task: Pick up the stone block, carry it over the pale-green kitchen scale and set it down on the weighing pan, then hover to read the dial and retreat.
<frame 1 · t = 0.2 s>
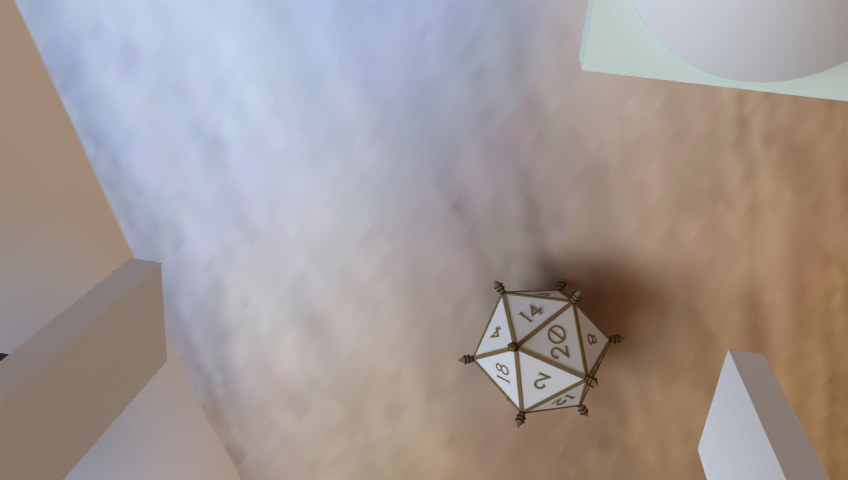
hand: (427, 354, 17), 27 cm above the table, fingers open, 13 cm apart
game die: (541, 315, 47), on the table
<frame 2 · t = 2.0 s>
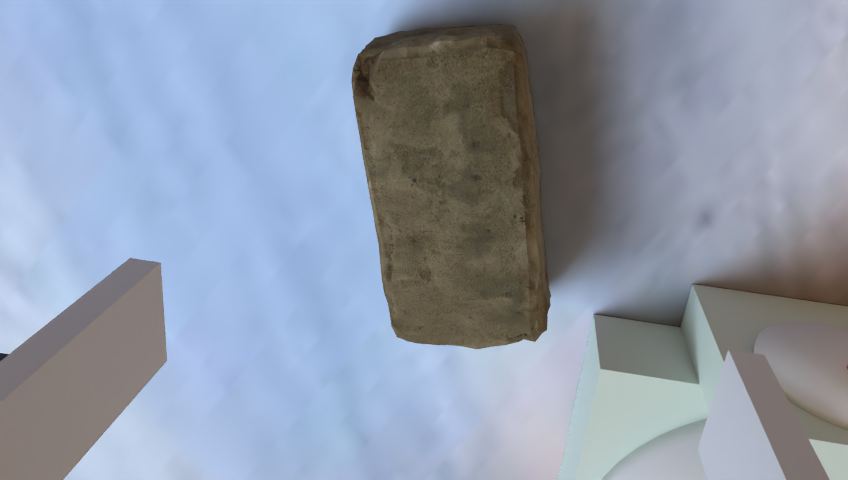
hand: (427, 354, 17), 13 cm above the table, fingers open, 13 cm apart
stone block: (466, 168, 28), on the table
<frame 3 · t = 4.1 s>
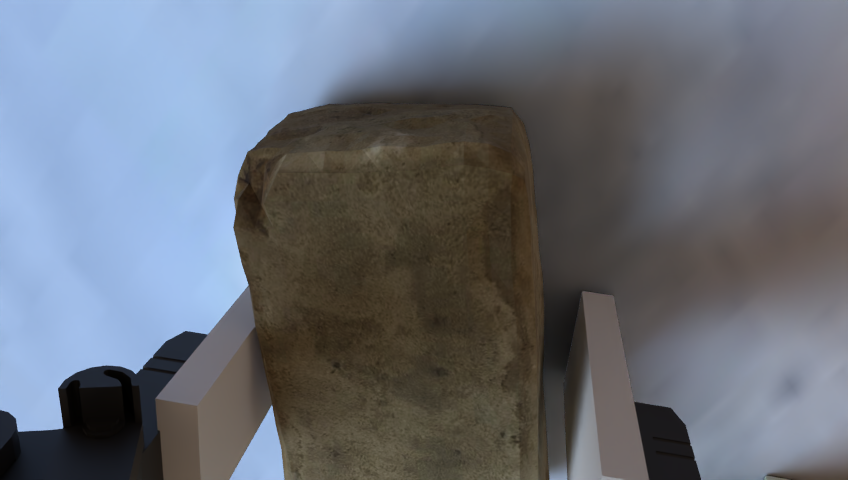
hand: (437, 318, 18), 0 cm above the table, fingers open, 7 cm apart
stone block: (432, 303, 19), on the table
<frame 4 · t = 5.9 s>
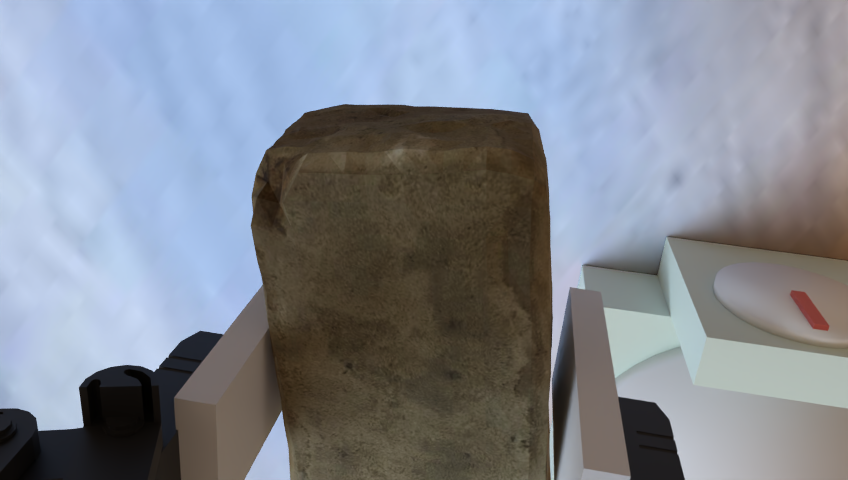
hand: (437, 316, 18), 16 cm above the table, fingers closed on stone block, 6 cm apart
scale: (705, 418, 37), on the table
stone block: (439, 306, 19), point 15 cm above the table, touching gripper
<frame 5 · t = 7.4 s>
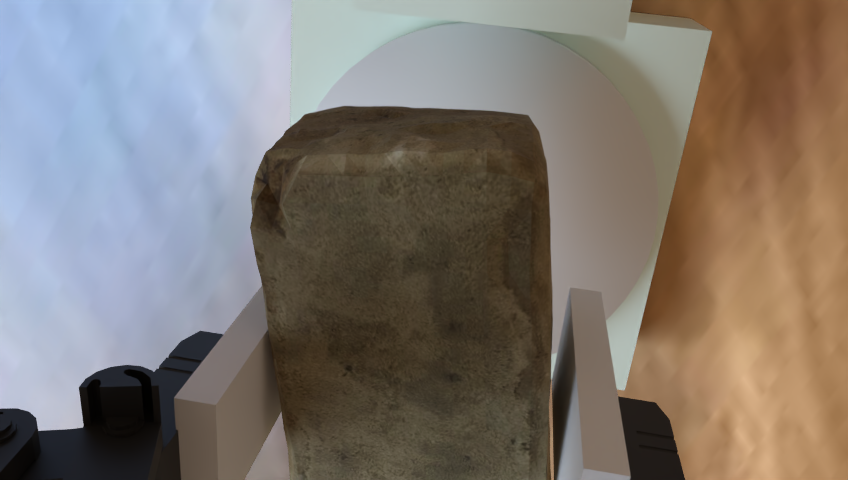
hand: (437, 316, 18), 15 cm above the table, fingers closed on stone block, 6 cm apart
scale: (479, 173, 32), on the table
stone block: (439, 307, 19), point 14 cm above the table, touching gripper
when the fingers open (6 cm above the table, at t = 10.3 s): stone block stays where it is, resting on scale.
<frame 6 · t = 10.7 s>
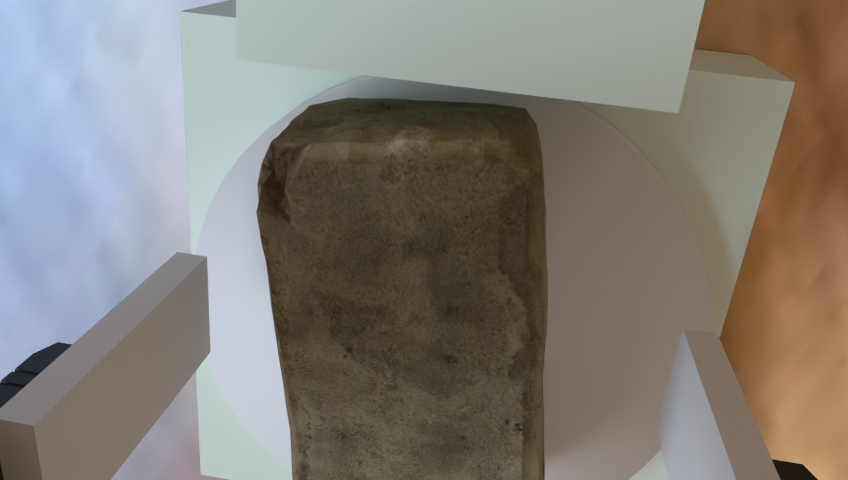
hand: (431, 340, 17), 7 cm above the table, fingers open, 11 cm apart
scale: (458, 256, 24), on the table
stone block: (437, 296, 19), point 5 cm above the table, touching scale
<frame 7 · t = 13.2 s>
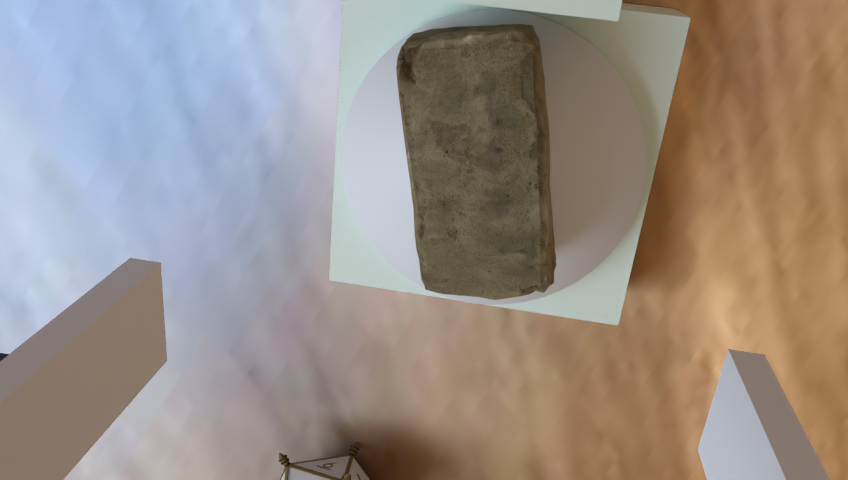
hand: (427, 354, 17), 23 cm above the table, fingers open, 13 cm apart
scale: (495, 141, 38), on the table
game die: (342, 472, 48), on the table
stone block: (485, 148, 33), point 5 cm above the table, touching scale
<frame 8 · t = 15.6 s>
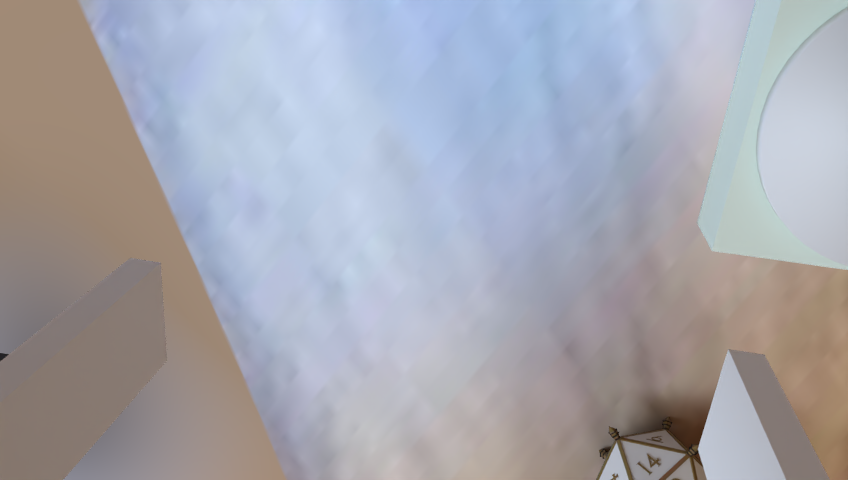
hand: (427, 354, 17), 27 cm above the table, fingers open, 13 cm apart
game die: (645, 447, 49), on the table
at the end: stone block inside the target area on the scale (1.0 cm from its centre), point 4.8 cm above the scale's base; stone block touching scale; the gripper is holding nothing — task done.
